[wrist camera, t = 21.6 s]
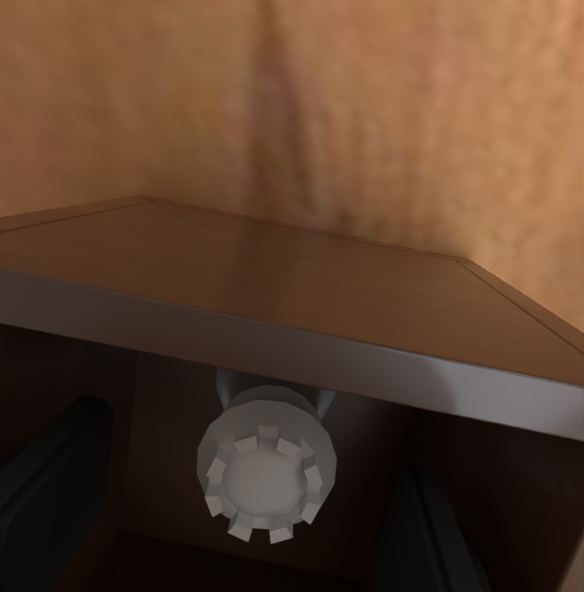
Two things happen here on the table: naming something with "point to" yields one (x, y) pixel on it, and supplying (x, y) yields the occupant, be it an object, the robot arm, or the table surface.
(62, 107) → the table surface
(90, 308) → the chest
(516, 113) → the table surface
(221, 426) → the rook chess piece
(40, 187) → the table surface
